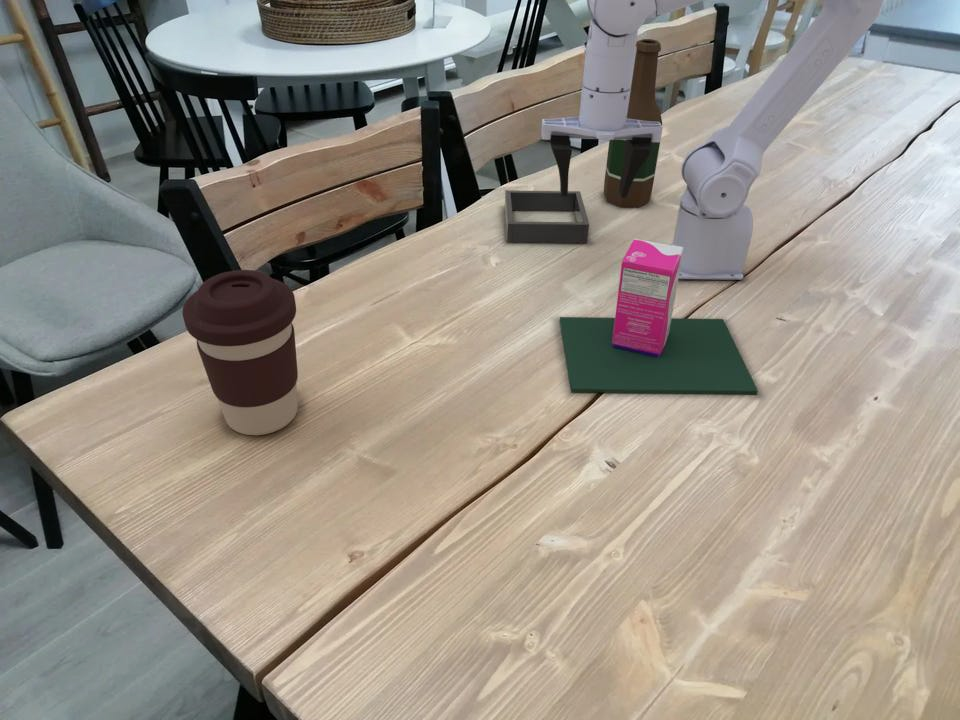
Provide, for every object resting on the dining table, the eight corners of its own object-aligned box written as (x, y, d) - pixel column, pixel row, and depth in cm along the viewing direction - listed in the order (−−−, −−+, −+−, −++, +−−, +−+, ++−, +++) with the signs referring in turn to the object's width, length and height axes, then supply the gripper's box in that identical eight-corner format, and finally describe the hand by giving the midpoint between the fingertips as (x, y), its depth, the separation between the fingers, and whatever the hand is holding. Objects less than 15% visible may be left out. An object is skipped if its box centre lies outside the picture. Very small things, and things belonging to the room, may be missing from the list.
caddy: (578, 209, 116) (580, 191, 114) (587, 243, 107) (589, 224, 105) (504, 208, 116) (505, 190, 114) (506, 242, 107) (507, 223, 105)
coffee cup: (262, 460, 70) (233, 330, 61) (190, 423, 74) (153, 295, 65) (332, 404, 77) (314, 279, 68) (262, 372, 81) (238, 250, 72)
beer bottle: (596, 203, 118) (615, 44, 103) (608, 185, 123) (628, 32, 109) (645, 212, 115) (671, 50, 101) (654, 193, 121) (681, 38, 107)
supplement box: (621, 321, 89) (634, 236, 83) (670, 333, 88) (687, 246, 81) (608, 347, 85) (621, 259, 78) (659, 359, 83) (677, 270, 76)
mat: (722, 322, 91) (723, 318, 90) (757, 394, 79) (758, 390, 79) (559, 320, 90) (559, 316, 90) (571, 392, 79) (571, 388, 79)
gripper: (548, 94, 84) (539, 205, 92) (674, 97, 84) (655, 208, 92) (543, 77, 90) (535, 182, 98) (662, 80, 90) (644, 185, 98)
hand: (593, 193), depth 95 cm, fingers open, 7 cm apart
